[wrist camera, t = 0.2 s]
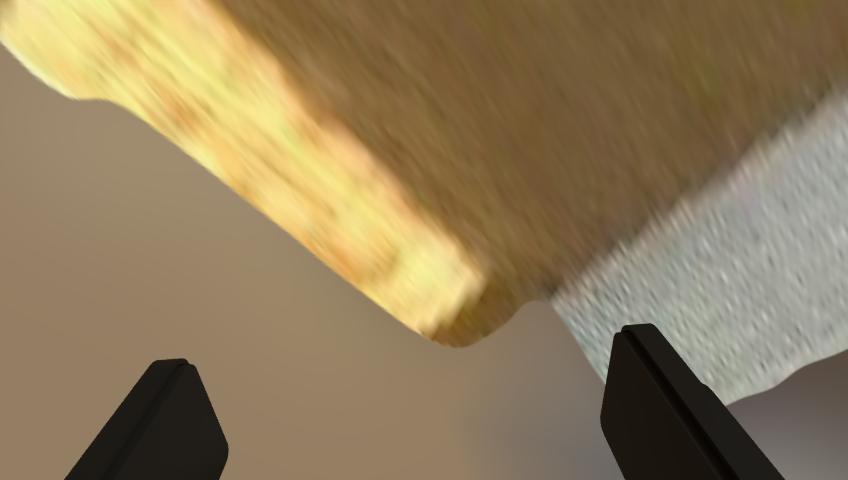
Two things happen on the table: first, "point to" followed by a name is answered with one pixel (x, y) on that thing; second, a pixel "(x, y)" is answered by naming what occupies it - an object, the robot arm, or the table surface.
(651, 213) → the table surface
